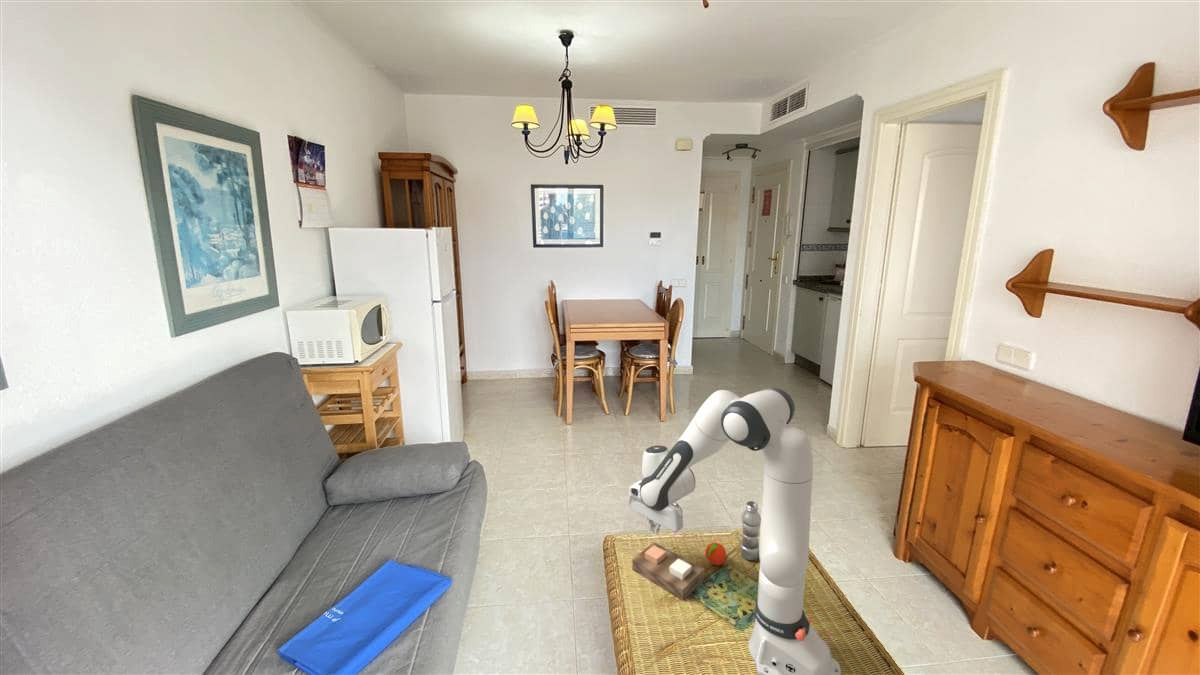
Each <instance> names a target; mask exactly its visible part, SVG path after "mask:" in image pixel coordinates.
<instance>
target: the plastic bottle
mask: <svg viewBox="0 0 1200 675" xmlns="http://www.w3.org/2000/svg"><path fill="white" fill-rule="evenodd" d="M758 510H759V507H758V503H757V502H755V501H752V500H751V501H749V500H748V501H747V502H746V505H745V510H743V512H742V515H741V525H742V536H741V542H740V545H739V546H740V547H739V551H740V555H741V556H742V557H743V559H744V560H745V559H746V560H747V561H754V560H757V559H758V558H759V543H760V539H759V537H760V528H761V514H760V513H759V511H758Z"/></svg>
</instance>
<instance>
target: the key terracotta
mask: <svg viewBox="0 0 1200 675" xmlns="http://www.w3.org/2000/svg"><path fill="white" fill-rule="evenodd" d="M665 558H666V551H664V550H662V549H660V548H658V547H657V546H655V545H653V546H652V547H651V548H650V549H648V550H647V551H646V552H645V559H647V560H648V561H650V562H652V563H654V564H655V565H658V564H659V563H661V562H662V561H663V560H664V559H665Z"/></svg>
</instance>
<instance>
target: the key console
mask: <svg viewBox="0 0 1200 675" xmlns="http://www.w3.org/2000/svg"><path fill="white" fill-rule="evenodd" d="M653 545H655V546H657V547H658V548H660V549H662V550H664V551H666V558H665V559H664V560H663V561H662V562H661V563H659V564H658V565H655V564H654V563H652V562H650V561H648V560H647V559H645V552H646V551H647V550H648V549H650V548H651V547H652V546H653ZM677 559H680V560H682V561H684V562H686V563H688V564H689V565H691V566H692V571H691V573H690V574H689V575H688V576H687V577H686V578H685V579H684V580H681V579H679V578H678V577H676V576H674V575H672V574H671V573H669V566H671V565H672V564H673V563H674V562H675V561H676V560H677ZM631 560H632V561H631V563H632V564H631V566H632V567H631V569H632V571H634V572H635V573H637V574H638V575H640V576H642V577H643V578H644V579H646V580H648V581H649V582H651V583H652V584H654V585H656V586H658V587H659V588H661V589H662V590H664V591H665V592H667V593H669V594H671V595H672V596H673V597H675V598H677V599H679V600H680V601H682V602H683V601H684V600H685V599H687V597H689V595H691V593H692V592H693V591H694V590H695V589H696V588H697V587H698V586H699V585H701V584H702V582H704V580H705V568H703V567H702V566H699V565H698V564H696V563H695V562H692V561H690V560H688V559H687V558H685V557H683V556H681V555H679V554H677V553H675V552H673V551H672V550H670V549H668V548H666V547H665V546H662V545H660V544H658V543H657V542H652V543H651V544H650V545H648V546H647V547H646V548H645V549H643V550H642V551H641V552H640V553H639V554H637V555H636V556H634V557H633V558H632V559H631ZM694 588H695V589H694ZM693 589H694V590H693Z"/></svg>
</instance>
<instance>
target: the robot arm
mask: <svg viewBox="0 0 1200 675" xmlns="http://www.w3.org/2000/svg"><path fill="white" fill-rule="evenodd" d="M795 412H796V407H795V402H794V399H793V398H792V396H791V395H790V394H789V393H788V392H786V391H785V390H783V389H781V388H778V387H768V388H762V389H760V390H757V391H754V392H751V393H749V394H747V395H744V396H743V397H740V396H738V395H737V394H736V393H734V392H732V391H731V390H727V389H726V390H725V389H718V390H716V391H715V392H713V393H712V394H710V395H709V397H707V398H706V400H705V401H704V402H703V403H702V405H701V406H700V407H699V408H698V410H697V411H696V413H695V415H694V416H693V418H692V420H691V421H690V422H689V424H688V426H687V427H686V429H685V430H684V432H683V433H682V435H681V436H680V437H679V439H678V440H677V441H676V443H675V444H674V445H673V447H672V448H671V449H670V450H669V448H668V447H667V446H665V445H661V444H660V445H652V446H650V447H647V448H646V449H645V450H644V452H643V454H642V458H641V460H642V461H641V475H642V479H640V480H638V481H636V482H634V483H632V484H631V485H630V486H629V487H628V492H629V493H628V495H627V496H628V497H627V507H628V508H629V510H631V511H633V512H635V513H637V514H639V515H640V516H642V517H644V518H646V522H647V523H648V527H649V528H648V529H649V531H651V532H653V533H655V534H658V533H659V532H660V528H661V527H663V528H665V529H667V530H668V531H671V532H673V533H678V532H679V531H681V530H682V529H683V527H684V517H683V516H684V515H683V508H682V507H681V506H680V505H679V503H678V501H680V500H682V499H684V498H685V497H686V496H688V495H690V494H692V493H693V492H694V491H695V488H696V477H695V474H694V472H693V470H692V469H691V467H692V466H693V465H695V464H697V463H699V462H701V461H703V460H705V459H707V458H709V457H711V456H713V455H714V454H717V453H718V452H719V451H720V450H721V449H723V448H724V447H725V446H726V445H727V443H728V442H729V441H732V442H733V443H735V444H737V445H739V446H741V447H745V448H747V449H749V450H751V451H754V452H756V451H762V452H763V459H764V460H763V461H764V463H763V479H762V481H763V485H762V486H763V487H762V501H761V502H762V504H761V514H760V517H761V524H760V529H759V556H758V558H759V572H758V584H757V585H758V586H757V597H756V599H755V605H754V618H755V620H754V621H755V622H754V625H753V626H754V627H753V630H752V633H751V635H750V637H749V639H748V643H747V644H748V645H747V646H748V652H749V654H750V655H751V658H752V660H753V661H754V663H755V669H756V673H757V674H758V675H842V671H841V666H840V663H839V662H838V661H837V660H836V659H834V658H833V657H832V652H831V649H830V646H829V645H828V644H827V643H826V641H825V640H823V639H822V637H821V636H820V635H819V633H818V631H817V630H816V629H814V628H813V627H812V626H811V623H812V621H813V620H812V618H813V616H812V615H810V616H809V618H807V617H806V616H807V615H806V613H805V611H804V599H805V587H806V571H807V570H808V565H809V553H810V552H809V551H810V532H811V531H810V530H811V528H810V526H811V512H812V511H811V510H812V509H811V507H812V492H813V472H814V471H813V470H814V464H813V462H814V461H813V450H812V445H811V440H810V438H809V436H808V435H807V434H806V432H804V431H803V430H802V429H799V428H796V427H792V426H790V425H789V423H790V422H791V421H792V420H793V418H794V416H795Z"/></svg>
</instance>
